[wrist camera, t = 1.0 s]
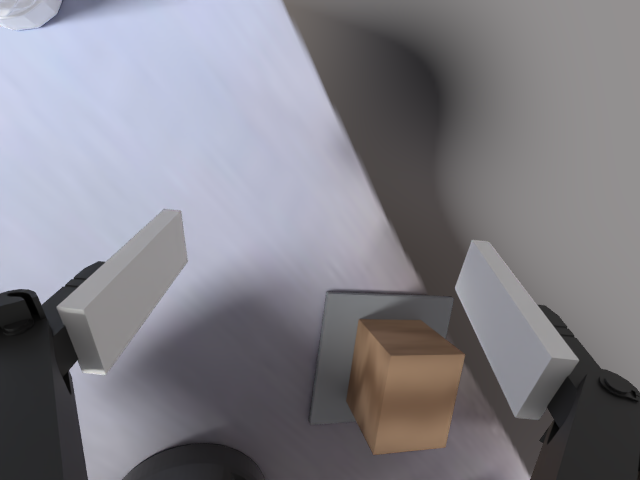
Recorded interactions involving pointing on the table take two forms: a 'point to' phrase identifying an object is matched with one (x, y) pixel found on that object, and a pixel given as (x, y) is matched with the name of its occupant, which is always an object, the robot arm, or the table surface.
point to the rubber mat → (341, 339)
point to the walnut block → (403, 385)
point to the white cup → (27, 13)
